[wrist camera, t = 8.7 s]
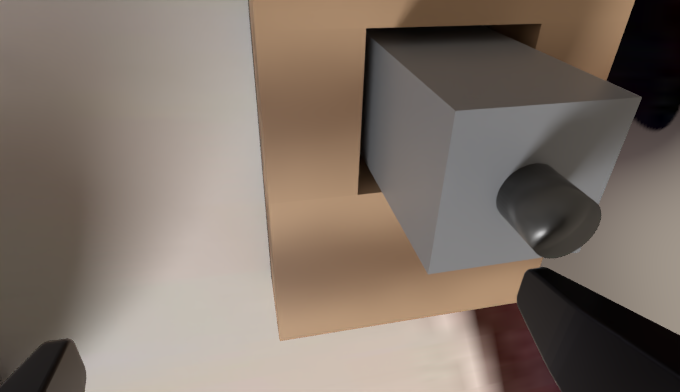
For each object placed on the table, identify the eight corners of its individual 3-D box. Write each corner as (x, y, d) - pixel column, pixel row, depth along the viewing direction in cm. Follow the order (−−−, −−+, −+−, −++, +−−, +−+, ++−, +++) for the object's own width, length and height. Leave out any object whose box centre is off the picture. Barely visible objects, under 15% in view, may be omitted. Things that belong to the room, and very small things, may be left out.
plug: (455, 132, 19) (618, 290, 11) (353, 141, 18) (452, 318, 10) (474, 21, 16) (701, 123, 9) (357, 25, 16) (491, 143, 8)
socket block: (487, 248, 25) (527, 300, 21) (271, 277, 22) (279, 340, 19) (617, -248, 14) (740, -295, 10) (223, -292, 11) (222, -371, 8)
